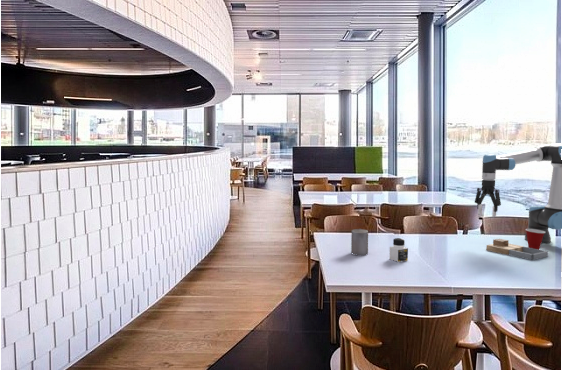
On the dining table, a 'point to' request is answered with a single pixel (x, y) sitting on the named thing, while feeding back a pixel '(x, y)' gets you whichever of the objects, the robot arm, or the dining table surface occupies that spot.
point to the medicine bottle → (398, 250)
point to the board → (504, 248)
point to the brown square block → (500, 242)
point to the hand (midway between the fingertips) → (486, 215)
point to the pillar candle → (359, 242)
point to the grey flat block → (534, 254)
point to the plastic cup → (534, 238)
